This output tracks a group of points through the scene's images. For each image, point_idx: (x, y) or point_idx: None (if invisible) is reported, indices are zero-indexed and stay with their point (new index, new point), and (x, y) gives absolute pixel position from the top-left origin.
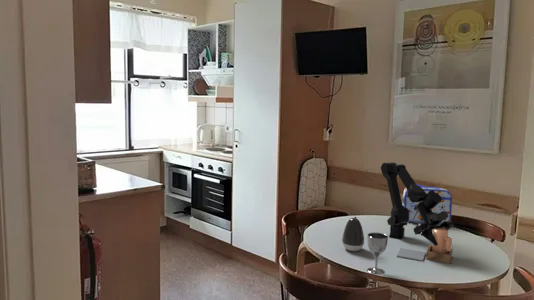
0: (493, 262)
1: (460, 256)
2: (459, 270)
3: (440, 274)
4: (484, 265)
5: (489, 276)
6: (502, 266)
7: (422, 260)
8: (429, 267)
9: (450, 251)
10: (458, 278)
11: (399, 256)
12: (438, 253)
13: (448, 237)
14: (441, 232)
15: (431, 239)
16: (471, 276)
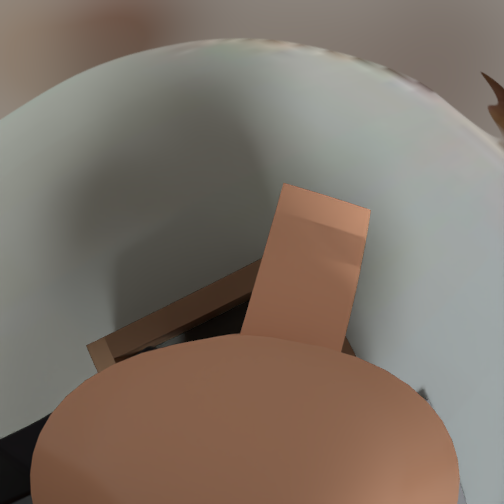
0: (39, 129)
1: (70, 295)
2: (341, 160)
3: (478, 203)
4: (116, 121)
5: (263, 49)
6: (69, 83)
7: (428, 400)
8: (465, 301)
9: (177, 314)
10: (432, 124)
11: (464, 498)
12: (348, 351)
13: (301, 260)
14: (429, 417)
15: None
16: (352, 91)
